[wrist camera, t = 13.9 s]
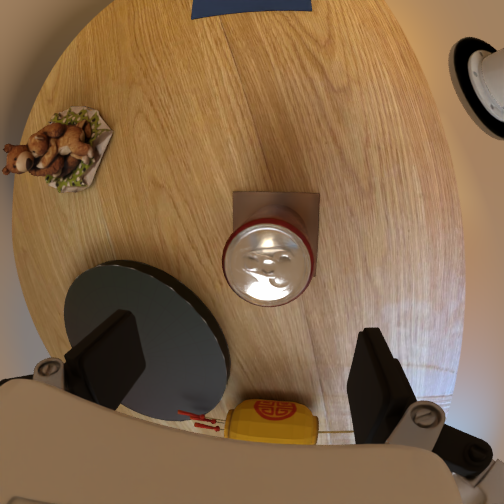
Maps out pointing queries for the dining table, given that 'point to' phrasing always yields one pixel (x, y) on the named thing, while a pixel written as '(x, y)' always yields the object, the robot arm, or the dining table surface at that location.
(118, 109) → the dining table surface
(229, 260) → the soda can
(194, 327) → the disc
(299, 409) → the lantern
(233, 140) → the dining table surface
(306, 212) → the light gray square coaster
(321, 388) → the dining table surface
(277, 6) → the place mat
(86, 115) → the bear figurine
